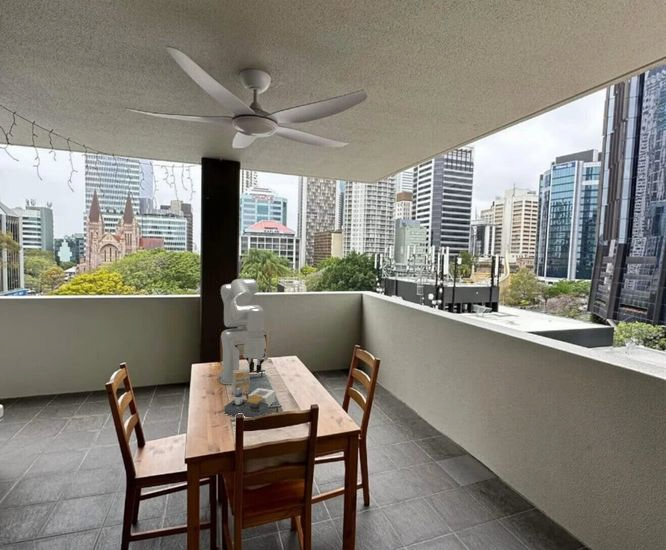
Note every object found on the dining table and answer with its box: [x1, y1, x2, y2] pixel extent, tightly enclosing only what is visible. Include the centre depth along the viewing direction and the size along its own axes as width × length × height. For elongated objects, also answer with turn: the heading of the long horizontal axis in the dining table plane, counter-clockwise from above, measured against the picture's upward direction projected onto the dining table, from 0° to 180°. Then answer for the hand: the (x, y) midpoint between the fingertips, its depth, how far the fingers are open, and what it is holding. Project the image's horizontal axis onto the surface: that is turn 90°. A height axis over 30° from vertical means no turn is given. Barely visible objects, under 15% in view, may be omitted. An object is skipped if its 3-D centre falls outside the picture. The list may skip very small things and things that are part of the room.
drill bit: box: [234, 386, 243, 406], centre depth 165 cm, size 4×4×12 cm
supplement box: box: [231, 368, 251, 397], centre depth 185 cm, size 8×5×13 cm, turn 122°
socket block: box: [223, 398, 269, 418], centre depth 164 cm, size 18×10×4 cm, turn 72°
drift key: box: [247, 395, 262, 409], centre depth 162 cm, size 5×5×5 cm
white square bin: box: [247, 387, 276, 408], centre depth 173 cm, size 10×10×6 cm
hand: (255, 371), depth 161 cm, fingers open, 3 cm apart
